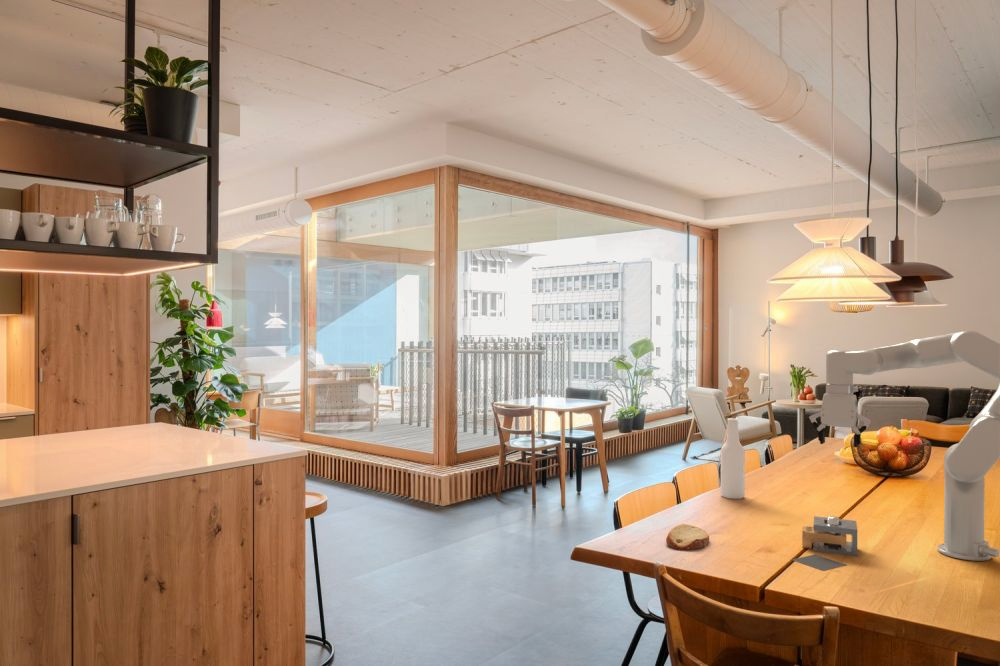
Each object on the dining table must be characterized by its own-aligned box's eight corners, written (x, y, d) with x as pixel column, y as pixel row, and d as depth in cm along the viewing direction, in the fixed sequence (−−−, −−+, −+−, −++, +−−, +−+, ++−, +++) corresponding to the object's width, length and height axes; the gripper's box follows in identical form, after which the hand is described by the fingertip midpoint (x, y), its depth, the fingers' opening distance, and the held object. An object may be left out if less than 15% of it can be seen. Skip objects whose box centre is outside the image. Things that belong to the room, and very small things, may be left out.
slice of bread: (691, 529, 220) (691, 518, 220) (729, 546, 203) (729, 534, 203) (643, 535, 213) (644, 523, 213) (678, 553, 197) (678, 540, 197)
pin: (840, 550, 198) (841, 518, 198) (834, 552, 197) (834, 519, 197) (831, 547, 201) (831, 515, 201) (824, 549, 200) (825, 516, 200)
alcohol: (741, 494, 267) (741, 417, 267) (747, 499, 258) (747, 420, 258) (718, 493, 268) (718, 417, 268) (723, 499, 259) (723, 419, 259)
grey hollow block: (856, 548, 201) (856, 520, 201) (857, 558, 192) (857, 529, 192) (803, 541, 207) (803, 515, 207) (802, 551, 198) (802, 523, 198)
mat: (847, 566, 185) (847, 564, 185) (823, 572, 180) (823, 571, 180) (815, 555, 194) (815, 554, 194) (791, 561, 189) (791, 559, 189)
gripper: (873, 390, 210) (872, 446, 210) (812, 387, 221) (812, 440, 221) (868, 392, 204) (867, 449, 204) (806, 389, 215) (806, 443, 215)
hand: (839, 445), depth 213 cm, fingers open, 9 cm apart
